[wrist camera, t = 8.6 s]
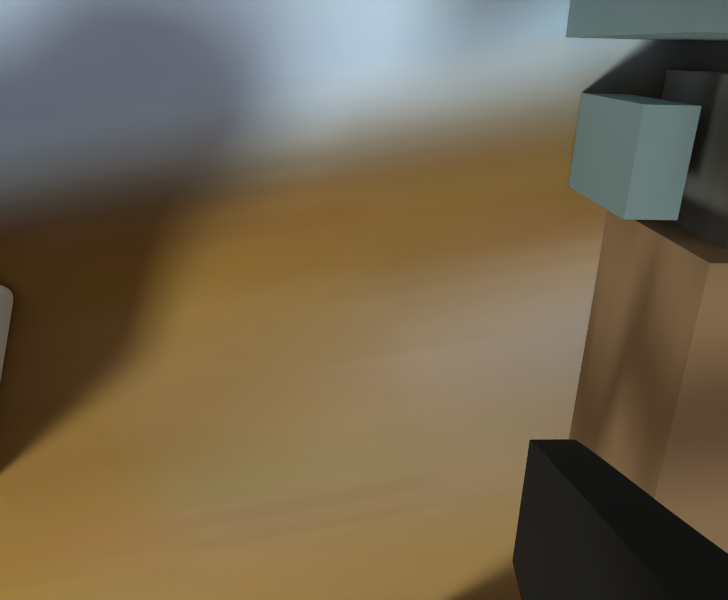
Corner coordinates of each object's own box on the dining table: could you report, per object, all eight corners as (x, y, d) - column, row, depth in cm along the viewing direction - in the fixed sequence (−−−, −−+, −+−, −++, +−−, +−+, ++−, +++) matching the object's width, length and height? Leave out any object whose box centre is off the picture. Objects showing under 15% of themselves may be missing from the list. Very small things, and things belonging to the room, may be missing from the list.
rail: (658, 451, 21) (754, 570, 16) (567, 452, 20) (636, 572, 16) (746, 72, 16) (913, 82, 12) (631, 68, 16) (753, 77, 11)
